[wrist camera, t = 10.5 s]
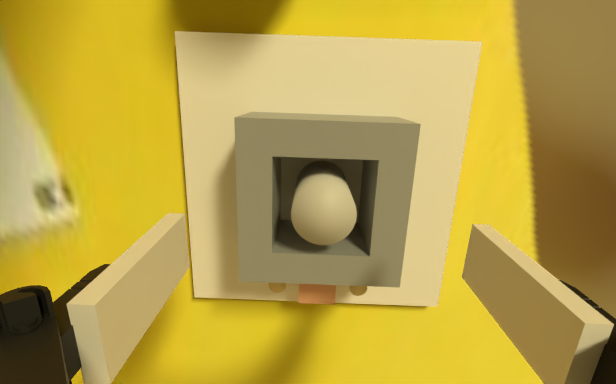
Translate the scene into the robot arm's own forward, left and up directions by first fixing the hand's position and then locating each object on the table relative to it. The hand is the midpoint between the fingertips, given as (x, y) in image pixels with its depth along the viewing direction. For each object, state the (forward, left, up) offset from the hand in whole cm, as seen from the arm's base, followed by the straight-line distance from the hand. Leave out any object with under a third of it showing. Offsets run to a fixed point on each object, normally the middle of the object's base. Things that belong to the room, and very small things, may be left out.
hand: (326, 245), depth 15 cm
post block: (0, 0, -13) cm, 13 cm away
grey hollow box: (+2, 0, -12) cm, 12 cm away
